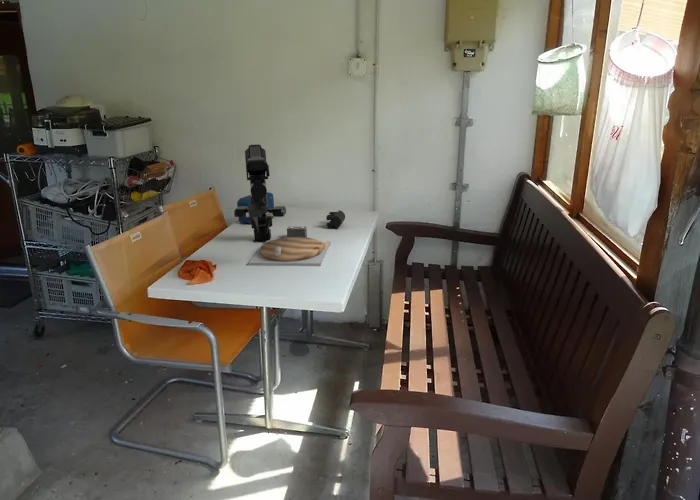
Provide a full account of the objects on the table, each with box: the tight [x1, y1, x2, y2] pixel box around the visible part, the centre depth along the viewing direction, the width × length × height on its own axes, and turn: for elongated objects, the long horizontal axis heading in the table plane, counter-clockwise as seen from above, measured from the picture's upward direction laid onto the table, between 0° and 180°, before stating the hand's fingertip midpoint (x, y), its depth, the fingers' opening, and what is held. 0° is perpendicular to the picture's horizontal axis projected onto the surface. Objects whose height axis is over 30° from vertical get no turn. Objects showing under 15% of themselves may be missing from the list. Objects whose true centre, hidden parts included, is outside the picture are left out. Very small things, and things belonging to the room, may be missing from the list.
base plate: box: [248, 240, 332, 267], centre depth 220 cm, size 28×28×4 cm
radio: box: [236, 191, 275, 224], centre depth 271 cm, size 21×9×20 cm, turn 152°
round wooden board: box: [259, 237, 323, 261], centre depth 220 cm, size 25×25×5 cm
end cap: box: [325, 209, 346, 230], centre depth 256 cm, size 10×7×7 cm
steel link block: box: [286, 225, 308, 238], centre depth 240 cm, size 8×4×5 cm, turn 84°
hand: (262, 233), depth 207 cm, fingers open, 3 cm apart
